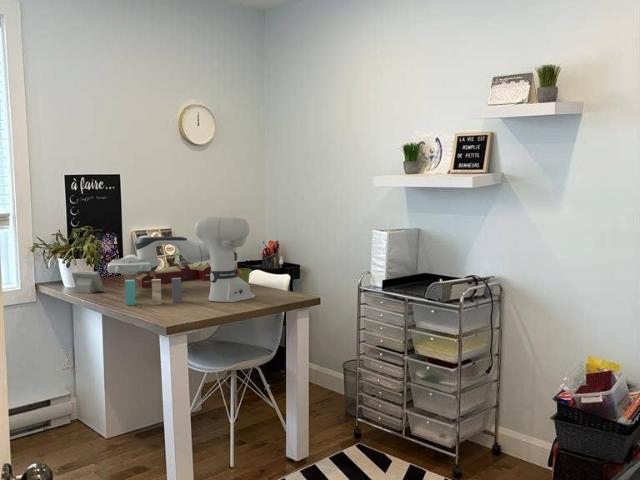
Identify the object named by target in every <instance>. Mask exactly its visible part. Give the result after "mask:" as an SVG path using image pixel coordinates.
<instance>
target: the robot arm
mask: <svg viewBox="0 0 640 480" xmlns="http://www.w3.org/2000/svg"><path fill="white" fill-rule="evenodd" d="M194 231H195V235H196V237H197V238H198V239H200V240H198V241H197V240H196V241H192V240H189V239H188V238H186V237H184V236H154V235H153V236H151V235H141V236H139V237H137V238H136V240H135V241H134V245H135V249H136V252H137V253H136V254H133V253H132V254H127V255H125V256H124V257H122V258H118V259H117V258H116V259H111V261H110V262H108V264H107V273H113V274H123V275H128V276H131V275H132V276H133V275H136V272H139V273H148V272H152V271H154V270H155V269H156V268H159V266H160V262H159V257H158V253H157V251H158V250H157V245H173V246H175V248H176V249H178V252H179V253H181V255H182V256H183V258H184V259H185V260H186V261H188V262H190V263H194V264H199V263H204V262H207V261H210V266H211V270H210V280H209V281H210V291H209V294H208V295H209V296H208V298H207V299H208V301H209V302H210V301H211V302H217V303H218V302H222V303H225V302H226V303H227V302H228V303H234V302H240V301H245V300H249V299H255V298H256V294H254V293H252V292H251V287H250V284H249V283H246V282H245V281H243V280H242V279H241V278H239V277H238V274H241V272H242V271H241V270H236V269H237V268H235V267H236V266H235V264H236V261H237V259H238V252H237V248H240V247H242V246H243V245H245V243H246V241H247V238H248V237H249V234H250V224H249V222H248V221H247V220H246V219H245V218H241V217H236V216H235V217H233V216H231V217H229V216H227V217H223V216H220V217H219V216H214V217H213V216H209V217H202V218H199V219H198V220H197V221H196V223H195V225H194ZM136 255H138V257H137V256H136Z"/></svg>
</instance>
